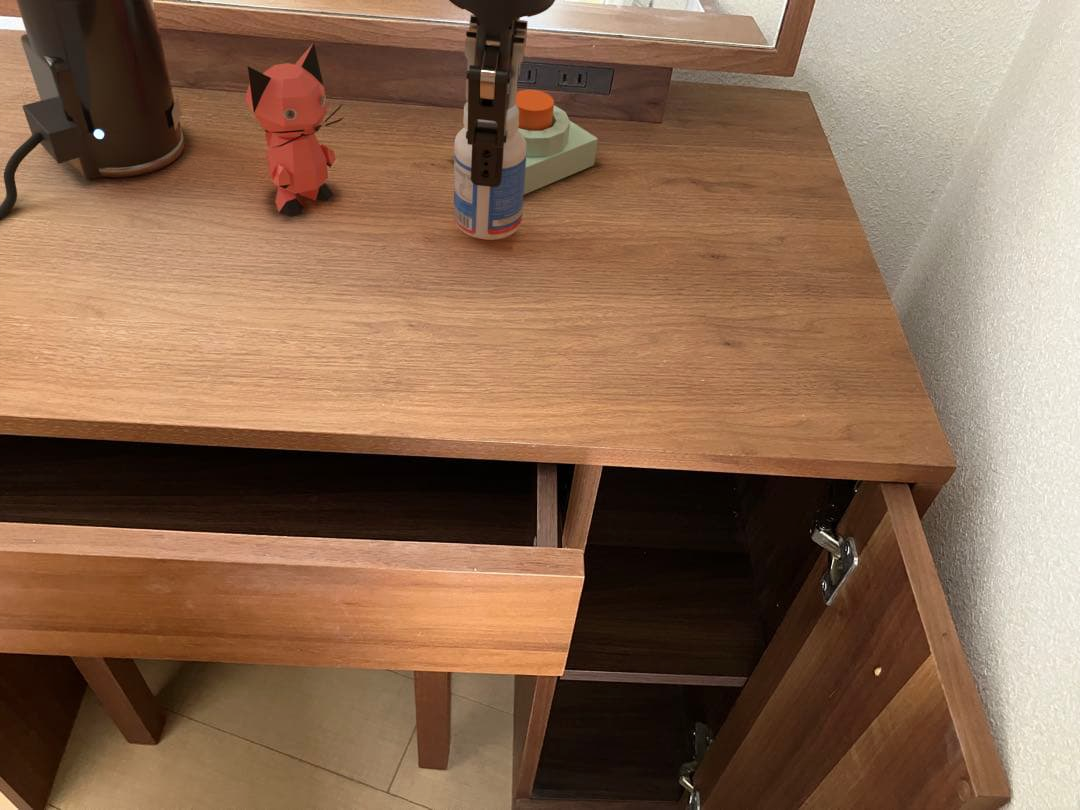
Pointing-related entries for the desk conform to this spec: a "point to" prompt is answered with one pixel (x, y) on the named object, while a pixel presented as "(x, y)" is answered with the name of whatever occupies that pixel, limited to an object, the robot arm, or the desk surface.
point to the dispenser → (557, 151)
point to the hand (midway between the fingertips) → (489, 160)
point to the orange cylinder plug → (534, 110)
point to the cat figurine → (293, 129)
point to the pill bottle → (490, 206)
